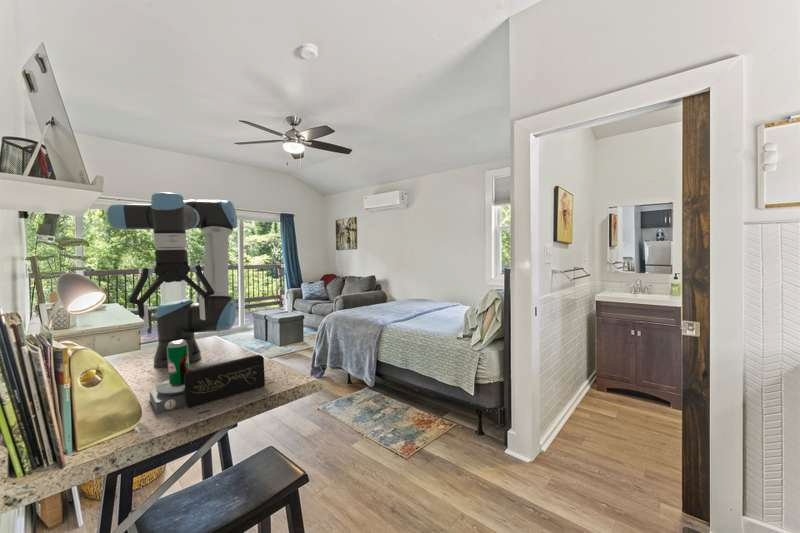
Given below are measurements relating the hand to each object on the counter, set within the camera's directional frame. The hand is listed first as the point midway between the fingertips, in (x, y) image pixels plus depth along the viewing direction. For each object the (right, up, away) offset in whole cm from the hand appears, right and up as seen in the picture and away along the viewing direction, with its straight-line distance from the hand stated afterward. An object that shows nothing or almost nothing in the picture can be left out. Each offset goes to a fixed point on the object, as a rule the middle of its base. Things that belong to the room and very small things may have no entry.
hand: (176, 323), depth 97 cm
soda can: (0, -18, +1) cm, 18 cm away
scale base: (0, -22, +1) cm, 22 cm away
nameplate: (+13, -22, +3) cm, 26 cm away
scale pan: (0, -19, +1) cm, 19 cm away
